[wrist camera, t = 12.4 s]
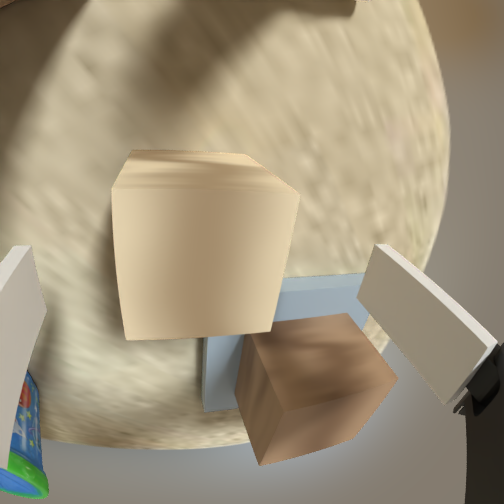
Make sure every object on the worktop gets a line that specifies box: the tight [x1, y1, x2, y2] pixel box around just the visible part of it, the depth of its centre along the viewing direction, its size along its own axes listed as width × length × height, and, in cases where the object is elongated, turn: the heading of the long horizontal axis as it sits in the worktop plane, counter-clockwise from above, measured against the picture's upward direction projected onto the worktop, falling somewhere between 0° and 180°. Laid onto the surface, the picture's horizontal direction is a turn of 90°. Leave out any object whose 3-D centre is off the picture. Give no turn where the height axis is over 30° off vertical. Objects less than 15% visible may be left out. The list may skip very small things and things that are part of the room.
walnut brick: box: [234, 313, 398, 466], centre depth 20 cm, size 8×8×7 cm
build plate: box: [201, 273, 370, 412], centre depth 23 cm, size 13×13×2 cm
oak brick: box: [111, 150, 301, 340], centre depth 13 cm, size 6×6×7 cm
